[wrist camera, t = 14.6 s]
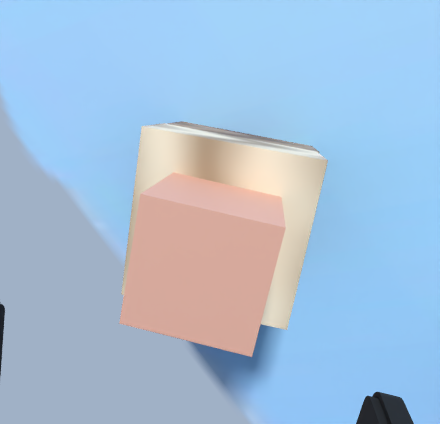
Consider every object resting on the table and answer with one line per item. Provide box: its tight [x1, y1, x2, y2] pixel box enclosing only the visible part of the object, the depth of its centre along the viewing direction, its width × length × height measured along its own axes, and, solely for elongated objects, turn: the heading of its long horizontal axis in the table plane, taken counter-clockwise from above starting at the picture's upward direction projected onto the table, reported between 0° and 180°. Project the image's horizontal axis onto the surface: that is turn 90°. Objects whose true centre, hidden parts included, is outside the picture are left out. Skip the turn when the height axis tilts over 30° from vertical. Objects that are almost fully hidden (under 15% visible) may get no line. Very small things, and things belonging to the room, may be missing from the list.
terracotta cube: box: [120, 172, 286, 357], centre depth 20 cm, size 6×6×6 cm
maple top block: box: [121, 123, 328, 330], centre depth 25 cm, size 10×10×5 cm
